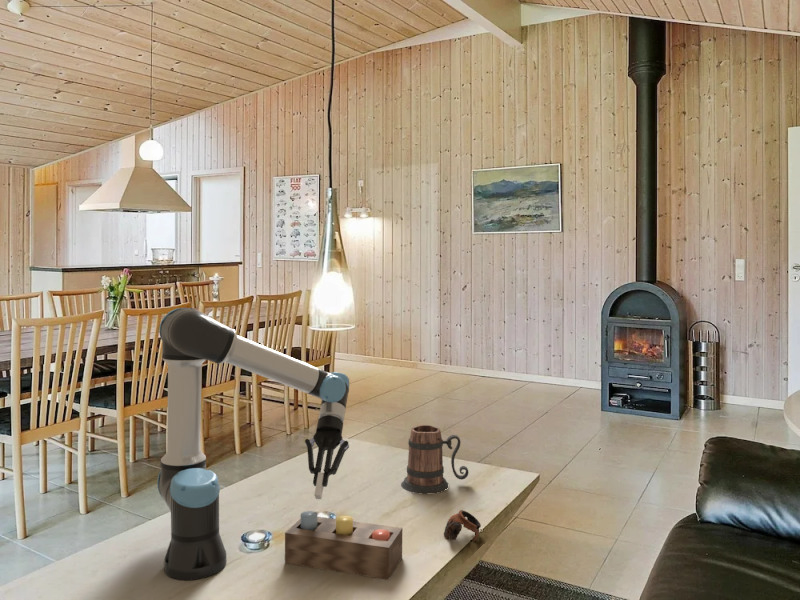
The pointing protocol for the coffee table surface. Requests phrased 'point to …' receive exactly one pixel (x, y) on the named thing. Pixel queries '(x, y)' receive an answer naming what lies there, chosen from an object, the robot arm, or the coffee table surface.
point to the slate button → (309, 520)
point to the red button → (381, 535)
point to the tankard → (428, 461)
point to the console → (344, 548)
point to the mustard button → (344, 525)
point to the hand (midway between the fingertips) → (317, 496)
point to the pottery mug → (455, 525)
